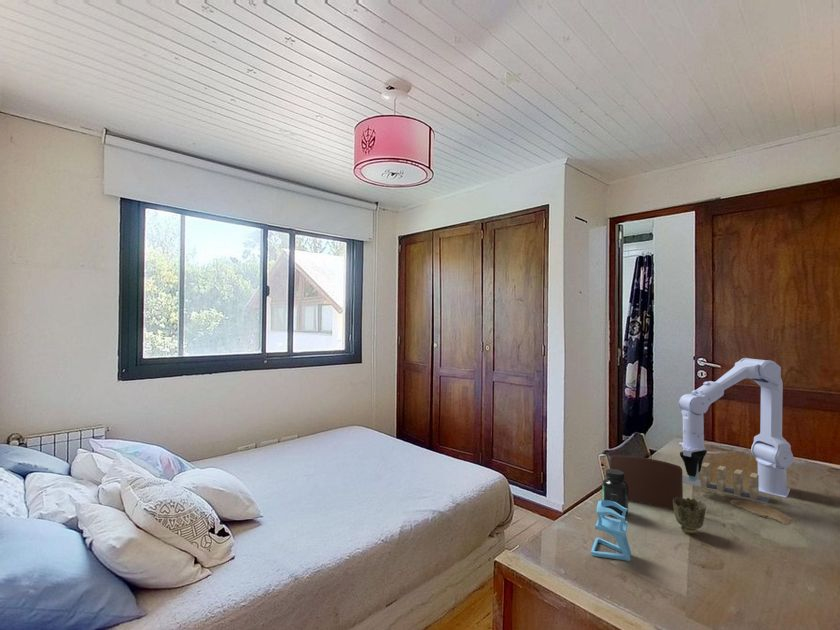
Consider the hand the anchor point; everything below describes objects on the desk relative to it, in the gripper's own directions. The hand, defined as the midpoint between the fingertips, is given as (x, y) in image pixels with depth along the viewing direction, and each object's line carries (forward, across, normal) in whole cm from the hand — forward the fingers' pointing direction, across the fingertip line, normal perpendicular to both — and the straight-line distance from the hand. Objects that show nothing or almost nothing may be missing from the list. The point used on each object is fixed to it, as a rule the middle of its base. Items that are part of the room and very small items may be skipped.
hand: (693, 473), depth 133 cm
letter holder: (+7, +15, -10) cm, 19 cm away
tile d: (+6, -10, +14) cm, 18 cm away
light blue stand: (+6, +54, -4) cm, 55 cm away
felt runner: (+7, -10, +4) cm, 13 cm away
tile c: (+6, -10, +10) cm, 15 cm away
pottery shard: (+7, +1, +17) cm, 18 cm away
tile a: (+6, -10, +1) cm, 12 cm away
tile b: (+6, -10, +5) cm, 13 cm away
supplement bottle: (+7, +32, -12) cm, 35 cm away
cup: (+7, +29, +6) cm, 30 cm away
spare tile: (+2, 0, 0) cm, 2 cm away
